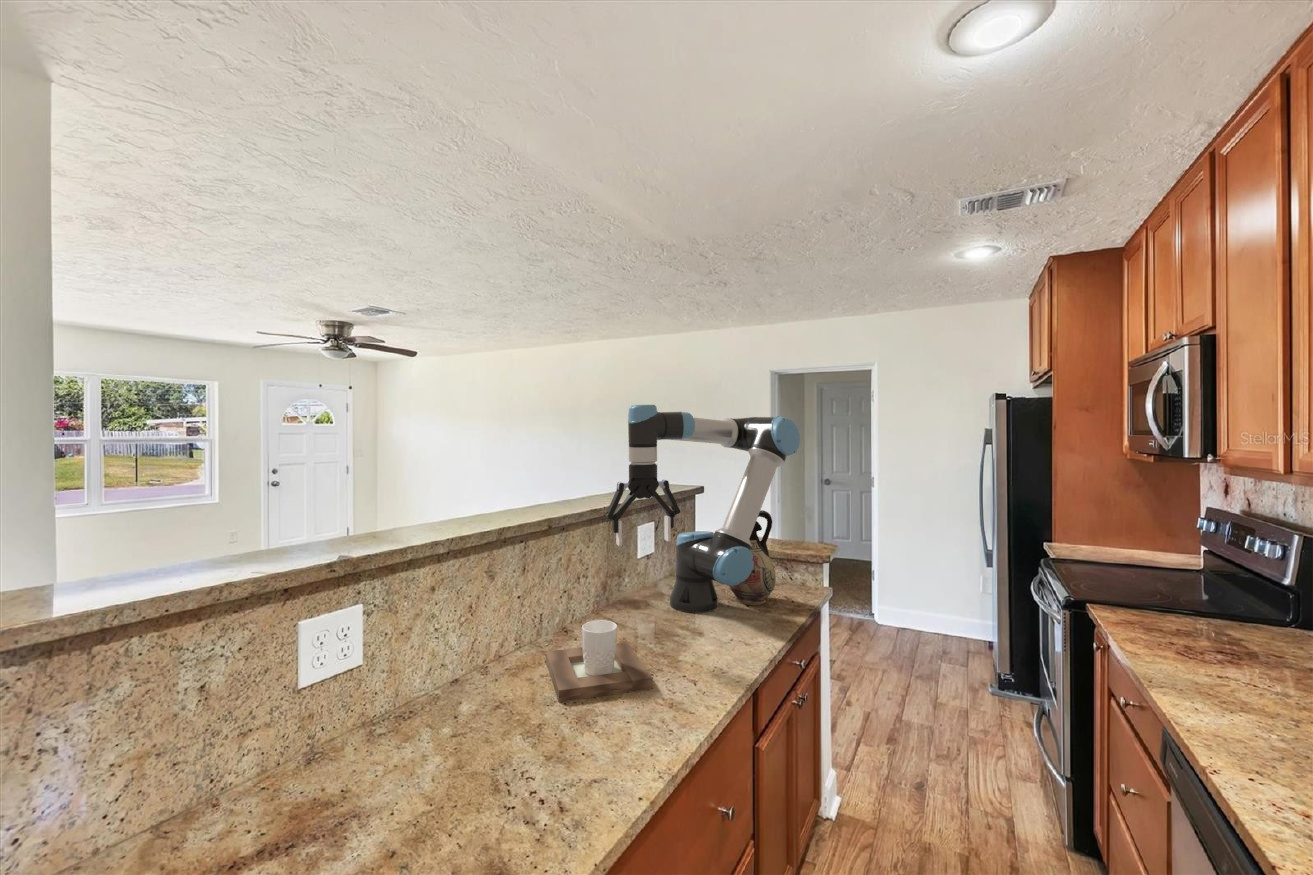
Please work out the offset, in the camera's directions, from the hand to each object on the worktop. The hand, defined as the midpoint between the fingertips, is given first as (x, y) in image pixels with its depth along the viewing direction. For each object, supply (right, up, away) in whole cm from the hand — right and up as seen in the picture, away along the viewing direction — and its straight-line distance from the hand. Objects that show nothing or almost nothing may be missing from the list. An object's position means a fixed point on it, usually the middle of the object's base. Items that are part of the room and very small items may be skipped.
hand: (643, 542), depth 147 cm
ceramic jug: (+35, -25, +32) cm, 54 cm away
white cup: (-10, -25, -22) cm, 35 cm away
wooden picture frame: (-10, -25, -22) cm, 35 cm away
